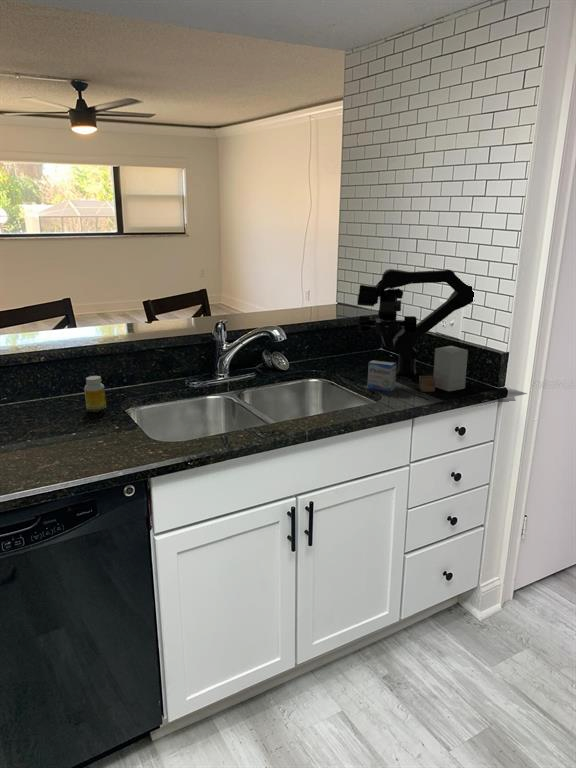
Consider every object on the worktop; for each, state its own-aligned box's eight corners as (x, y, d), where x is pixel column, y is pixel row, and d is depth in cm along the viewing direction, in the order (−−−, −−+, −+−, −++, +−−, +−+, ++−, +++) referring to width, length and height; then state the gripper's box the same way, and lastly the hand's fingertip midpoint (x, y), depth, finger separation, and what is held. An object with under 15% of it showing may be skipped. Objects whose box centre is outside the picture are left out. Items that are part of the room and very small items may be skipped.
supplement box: (465, 388, 179) (469, 349, 176) (448, 392, 176) (451, 352, 172) (449, 382, 186) (452, 345, 182) (431, 386, 182) (434, 347, 178)
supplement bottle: (85, 408, 162) (81, 376, 159) (104, 405, 164) (101, 374, 162) (88, 414, 157) (85, 381, 155) (108, 411, 160) (105, 378, 157)
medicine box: (366, 388, 180) (368, 362, 177) (371, 385, 183) (372, 359, 181) (391, 392, 176) (392, 365, 173) (395, 388, 180) (396, 362, 177)
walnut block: (418, 387, 180) (419, 375, 179) (431, 387, 180) (432, 375, 179) (421, 391, 176) (422, 379, 175) (434, 391, 176) (435, 379, 175)
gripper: (358, 291, 184) (355, 331, 177) (417, 291, 180) (416, 332, 173) (360, 311, 193) (357, 350, 186) (416, 311, 190) (415, 351, 183)
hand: (386, 346), depth 182 cm, fingers closed
